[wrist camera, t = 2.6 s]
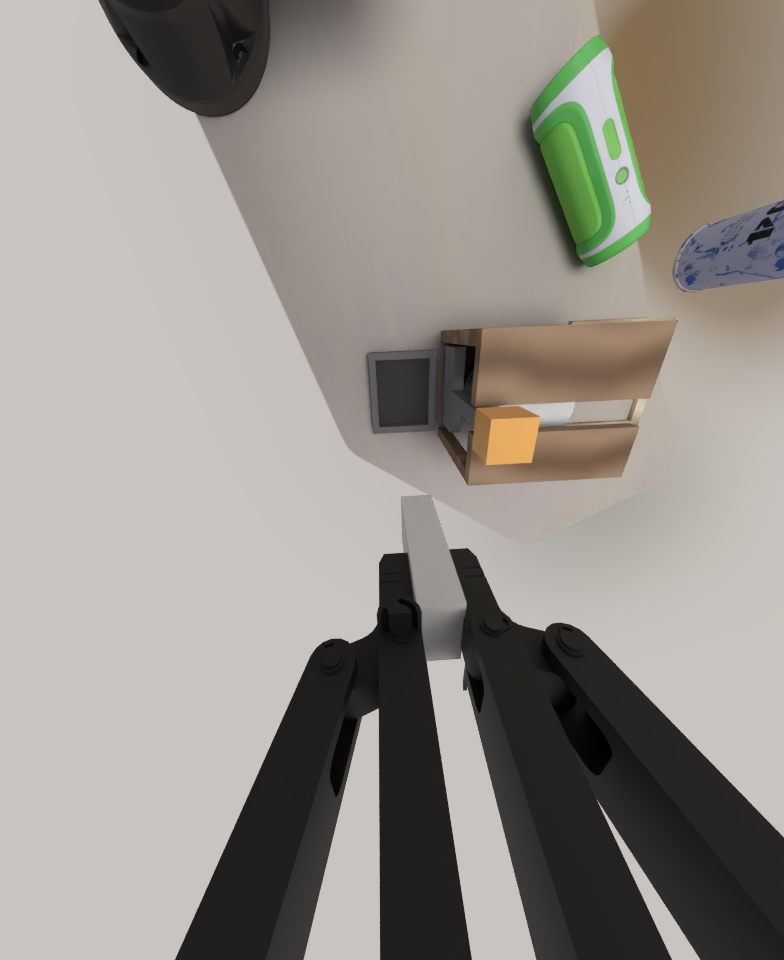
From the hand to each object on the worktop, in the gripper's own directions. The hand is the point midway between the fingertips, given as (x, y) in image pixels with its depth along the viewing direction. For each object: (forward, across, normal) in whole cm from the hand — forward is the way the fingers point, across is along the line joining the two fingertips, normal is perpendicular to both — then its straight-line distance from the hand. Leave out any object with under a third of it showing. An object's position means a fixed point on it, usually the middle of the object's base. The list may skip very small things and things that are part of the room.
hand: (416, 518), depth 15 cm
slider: (+35, +9, 0) cm, 36 cm away
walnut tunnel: (+35, +17, 0) cm, 39 cm away
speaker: (+35, +24, +24) cm, 49 cm away
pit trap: (+35, +2, 0) cm, 35 cm away
